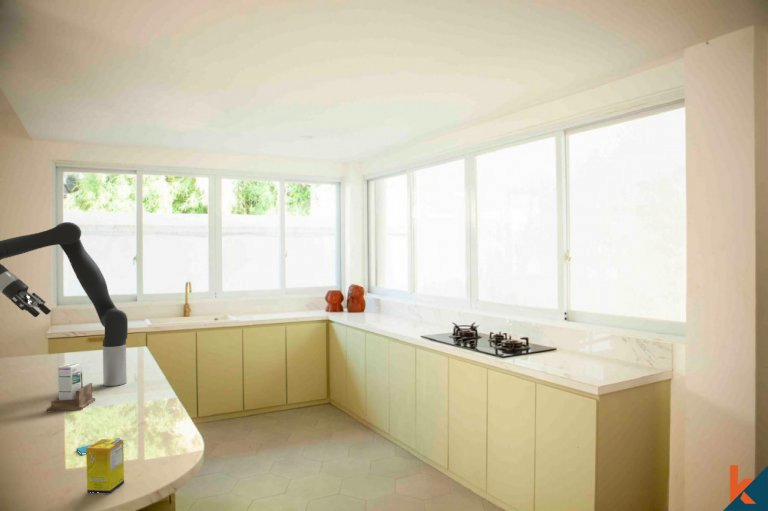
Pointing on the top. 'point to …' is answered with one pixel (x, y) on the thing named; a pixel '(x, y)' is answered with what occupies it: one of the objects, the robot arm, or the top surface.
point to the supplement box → (105, 465)
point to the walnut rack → (74, 400)
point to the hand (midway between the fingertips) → (43, 314)
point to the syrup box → (69, 380)
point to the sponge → (83, 449)
